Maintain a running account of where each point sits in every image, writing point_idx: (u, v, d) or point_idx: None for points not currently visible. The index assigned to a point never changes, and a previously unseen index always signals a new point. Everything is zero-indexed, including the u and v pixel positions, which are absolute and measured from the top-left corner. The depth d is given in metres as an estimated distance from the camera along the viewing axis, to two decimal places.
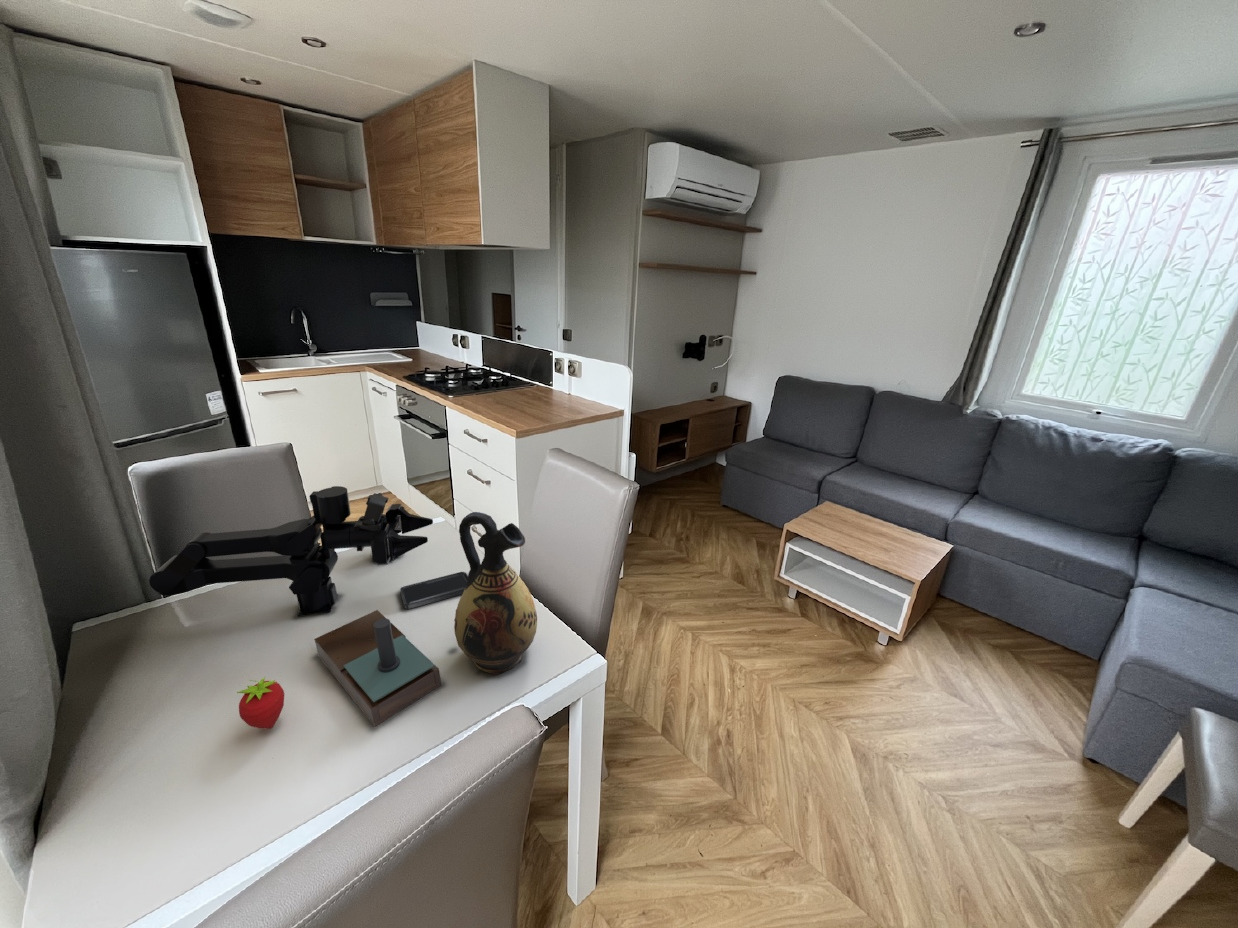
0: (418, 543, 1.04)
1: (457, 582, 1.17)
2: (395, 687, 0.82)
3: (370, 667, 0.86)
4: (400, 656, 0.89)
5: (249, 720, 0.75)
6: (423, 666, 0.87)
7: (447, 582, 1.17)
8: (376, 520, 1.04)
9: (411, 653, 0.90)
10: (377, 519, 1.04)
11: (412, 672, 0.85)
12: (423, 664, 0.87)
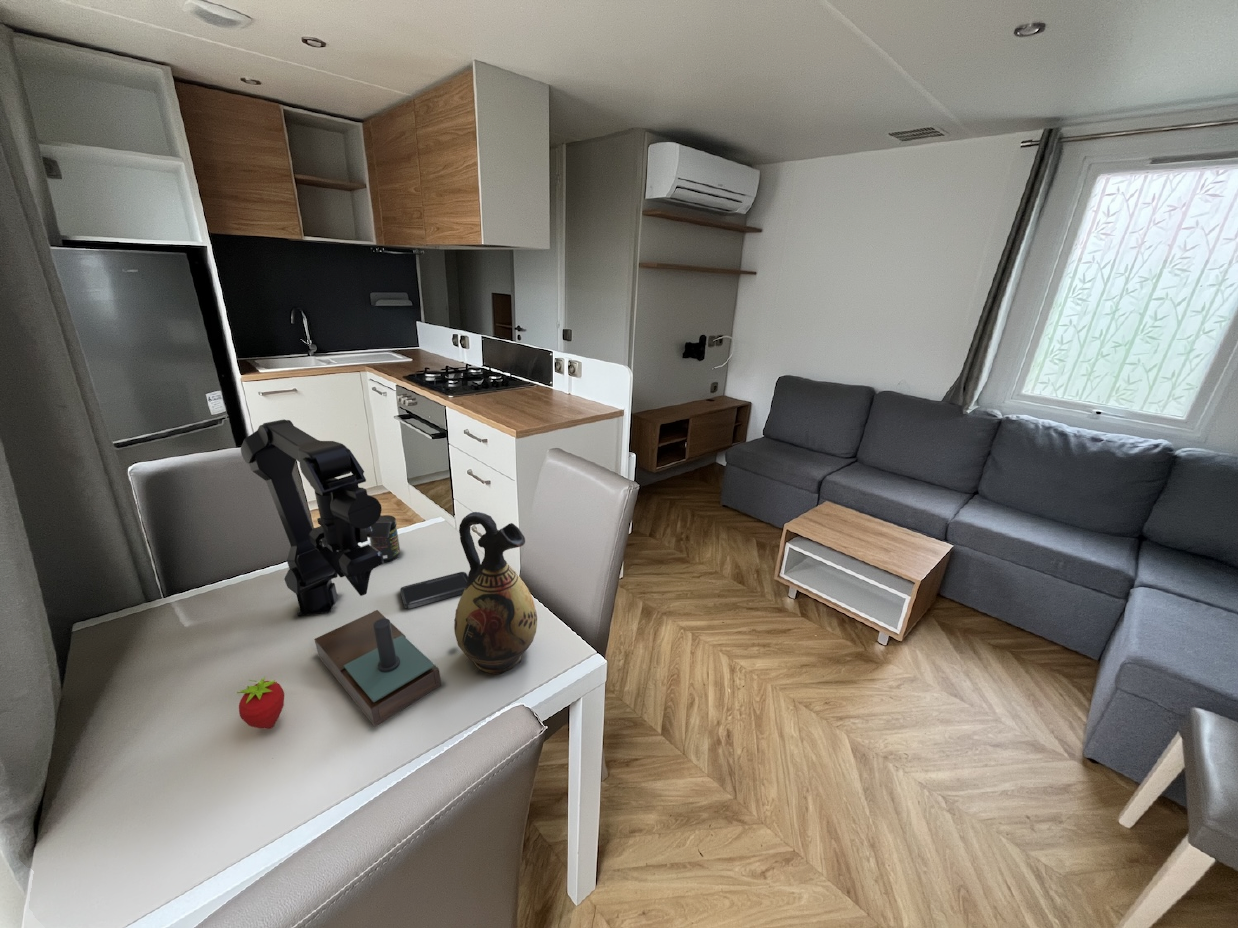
0: (360, 589, 0.91)
1: (457, 582, 1.17)
2: (395, 687, 0.82)
3: (370, 667, 0.86)
4: (400, 656, 0.89)
5: (249, 720, 0.75)
6: (423, 666, 0.87)
7: (447, 582, 1.17)
8: (370, 535, 0.93)
9: (411, 653, 0.90)
10: (372, 535, 0.93)
11: (412, 672, 0.85)
12: (423, 664, 0.87)
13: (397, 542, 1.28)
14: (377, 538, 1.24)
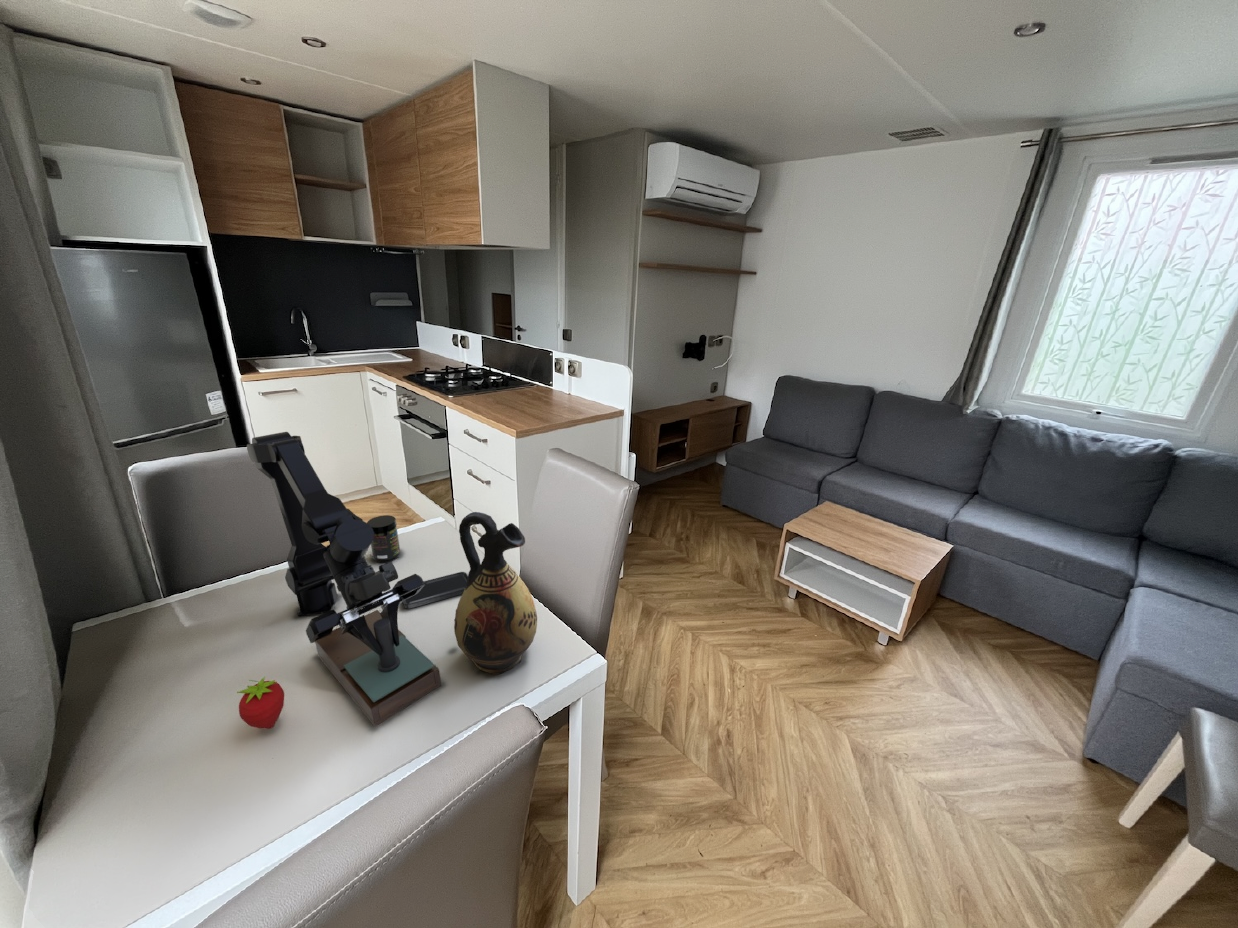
0: (371, 648, 0.84)
1: (457, 582, 1.17)
2: (395, 687, 0.82)
3: (370, 667, 0.86)
4: (400, 656, 0.89)
5: (249, 720, 0.75)
6: (423, 666, 0.87)
7: (447, 582, 1.17)
8: (354, 597, 0.82)
9: (411, 653, 0.90)
10: (355, 598, 0.82)
11: (412, 672, 0.85)
12: (423, 664, 0.87)
13: (397, 542, 1.28)
14: (377, 538, 1.24)
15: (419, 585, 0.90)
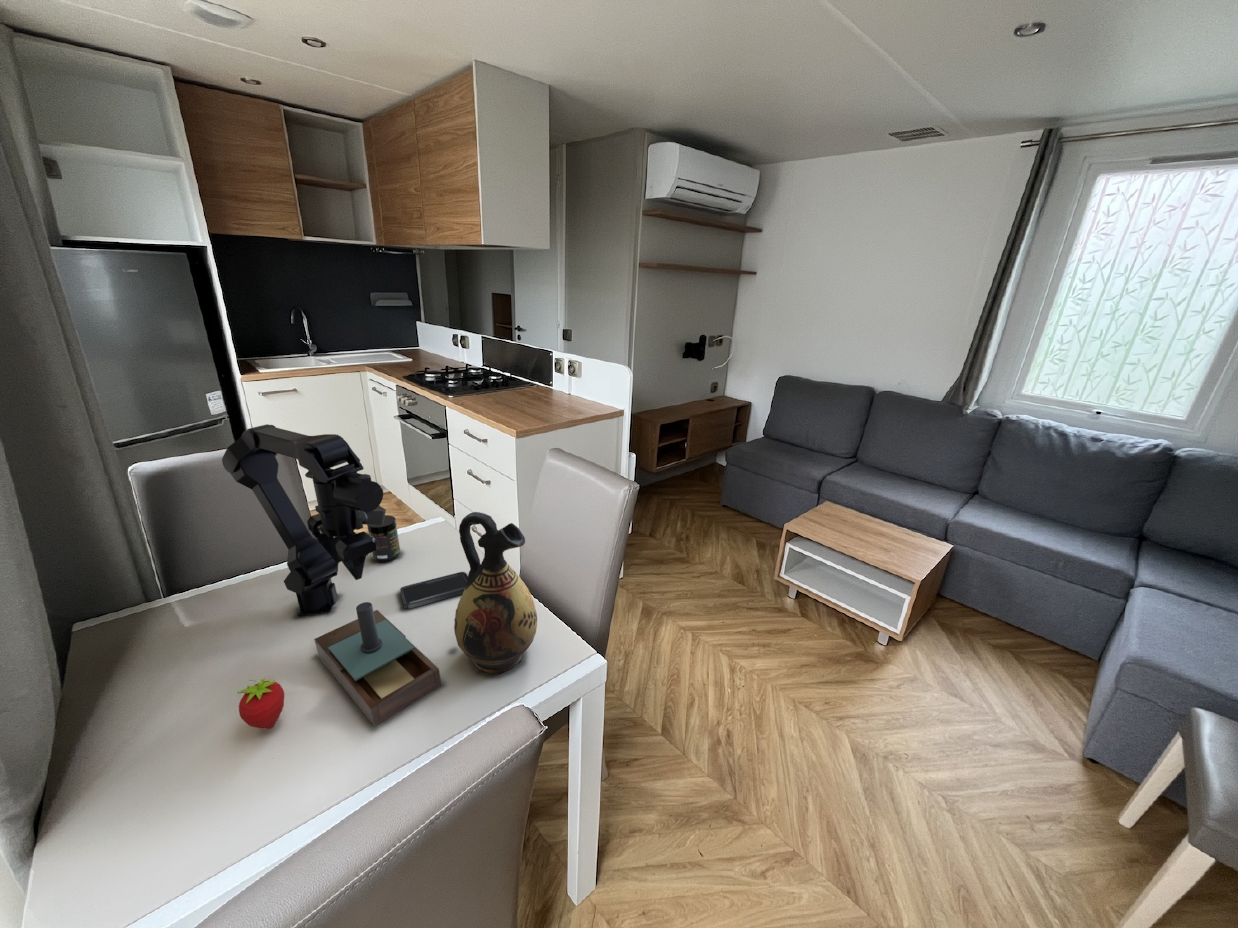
0: (356, 573, 0.96)
1: (457, 582, 1.17)
2: (376, 667, 0.86)
3: (353, 649, 0.90)
4: (383, 639, 0.93)
5: (249, 720, 0.75)
6: (404, 648, 0.91)
7: (447, 582, 1.17)
8: (366, 522, 0.98)
9: (393, 636, 0.94)
10: (367, 523, 0.98)
11: (393, 653, 0.89)
12: (404, 646, 0.91)
13: (397, 542, 1.28)
14: (377, 538, 1.24)
15: None
